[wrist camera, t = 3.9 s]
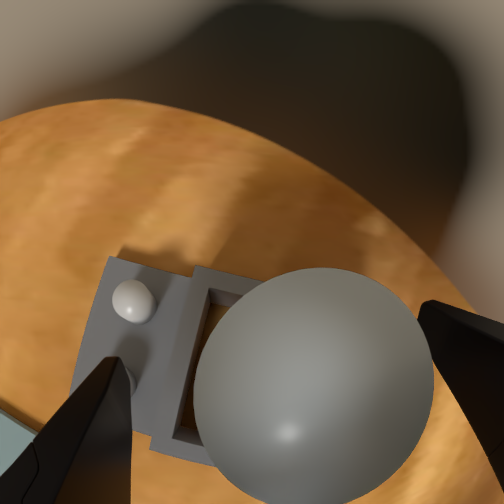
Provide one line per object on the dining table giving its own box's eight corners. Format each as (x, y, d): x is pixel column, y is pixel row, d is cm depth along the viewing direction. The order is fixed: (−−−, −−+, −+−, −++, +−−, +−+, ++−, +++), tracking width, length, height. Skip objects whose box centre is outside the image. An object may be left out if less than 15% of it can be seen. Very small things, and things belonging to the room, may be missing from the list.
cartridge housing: (348, 317, 16) (373, 306, 13) (319, 463, 13) (340, 479, 10) (113, 260, 16) (95, 238, 13) (74, 402, 13) (46, 406, 10)
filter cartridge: (316, 341, 15) (441, 293, 6) (297, 433, 13) (406, 502, 4) (222, 321, 15) (229, 241, 6) (199, 415, 13) (169, 489, 4)
